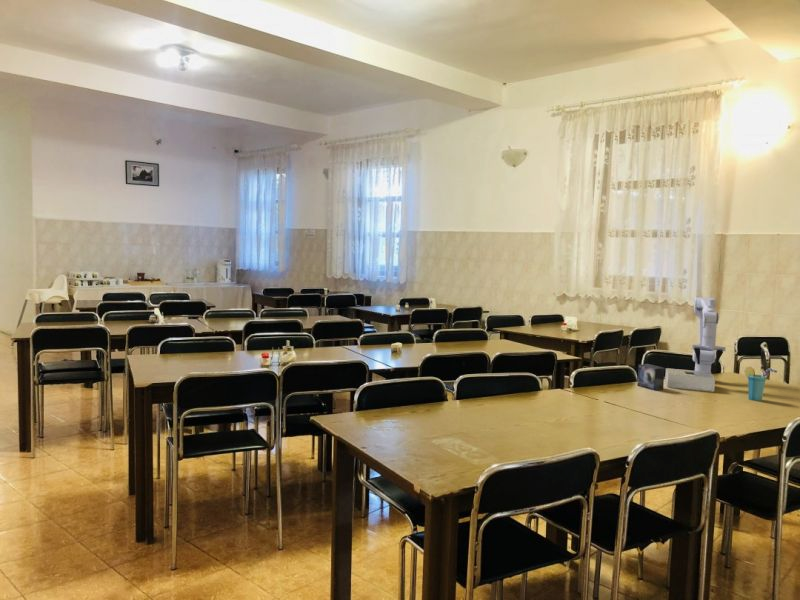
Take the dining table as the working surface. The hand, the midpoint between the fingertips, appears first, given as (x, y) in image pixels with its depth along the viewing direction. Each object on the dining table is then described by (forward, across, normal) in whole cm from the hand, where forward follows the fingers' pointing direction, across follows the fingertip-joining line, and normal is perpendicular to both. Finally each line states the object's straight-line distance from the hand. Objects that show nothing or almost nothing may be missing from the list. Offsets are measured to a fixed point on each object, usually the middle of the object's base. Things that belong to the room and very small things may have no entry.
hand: (707, 364), depth 300 cm
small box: (+12, -26, -18) cm, 33 cm away
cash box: (+11, -8, -4) cm, 14 cm away
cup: (+12, +18, -22) cm, 30 cm away
